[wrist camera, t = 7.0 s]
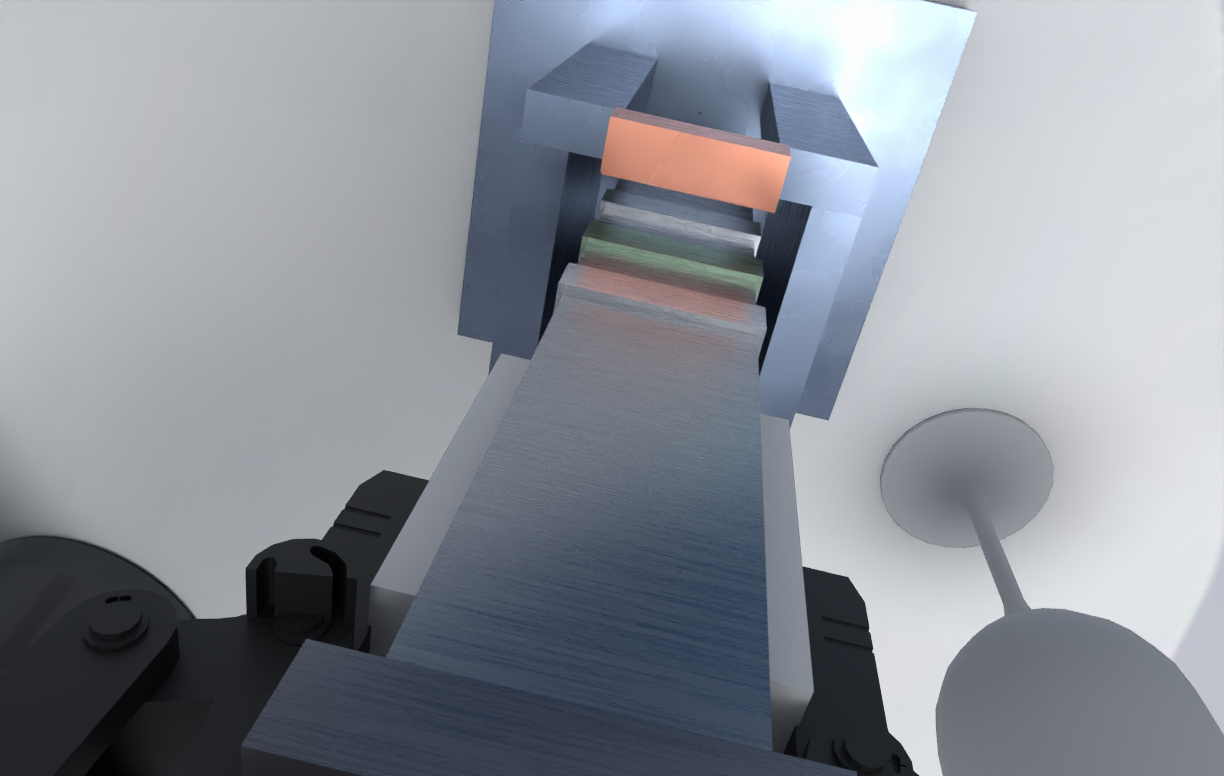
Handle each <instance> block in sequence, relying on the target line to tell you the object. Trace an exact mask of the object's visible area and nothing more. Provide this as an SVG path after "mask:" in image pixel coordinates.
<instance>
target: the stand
mask: <svg viewBox="0 0 1224 776" xmlns="http://www.w3.org/2000/svg"><path fill="white" fill-rule="evenodd" d="M976 15H977V12H974V11H972V10H969V9H966V8H961V7H956V6H952V5H947V4H943V3H938V2H933V1H929V0H495V3H494V12H493V20H492V29H491V38H490V47H489V56H488V65H487V74H486V83H485V92H484V101H483V110H482V119H481V128H480V137H479V146H478V155H477V164H476V173H475V182H474V191H473V200H472V209H471V218H470V227H469V236H468V245H467V254H466V263H465V271H464V280H463V289H462V298H461V307H460V316H459V325H458V334H457V335H462V336H466V337H470V338H475V339H479V340H483V341H488V342H492V343H493V346H492V353H491V361H490V368H489V374H490V372H491V371H492V369H493V367H494V365H495V363H496V362H497V360H498V358H499V356H500V355H501V354H506V355H510V356H514V357H519V358H523V359H527V360H531V359H532V357H533V355H534V353H535V351H536V349H537V347H538V344H539V342H540V340H541V338H542V336H543V334H544V332H545V330H546V328H547V326H548V324H549V322H550V320H551V318H552V316H553V312H554V307H555V301H556V295H557V289H558V283H559V281H560V279H561V277H562V275H563V273H564V271H565V269H566V267H567V265H568V263H574V264H578V259H579V253H580V248H581V242H582V236H583V234H584V232H585V230H586V229H587V227H588V225H589V223H590V221H594V222H597V219H598V214H599V209H600V203H601V199H602V198H603V196H604V194H605V192H606V190H607V188H608V189H613V190H614V189H615V187H616V185H617V183H618V181H619V179H620V178H621V179H626V180H630V181H635V182H639V183H644V184H648V185H652V186H657V187H661V188H666V189H670V190H675V191H679V192H684V193H688V194H692V195H697V196H701V197H706V198H710V199H715V200H719V201H724V202H728V203H732V204H737V205H741V206H746V207H750V208H753V221H754V222H759V223H760V226H761V239H760V242H759V246H758V249H757V253H756V256H755V258H757V259H761V260H763V276H764V277H763V281H762V284H761V288H760V291H759V294H758V298H757V301H756V305H758V306H762V307H765V310H766V327H767V331H766V334H765V337H764V341H763V344H762V347H761V351H760V354H759V357H758V365H759V393H760V413H761V414H765V415H769V416H774V417H778V418H782V419H787V420H789V428H790V427H791V424H792V421H793V418H794V415H795V413H799V414H803V415H808V416H812V417H816V418H821V419H825V420H829V417H830V415H831V412H832V409H833V406H834V404H835V401H836V398H837V395H838V393H839V390H840V387H841V384H842V382H843V379H844V376H845V373H846V371H847V368H848V365H849V363H850V360H851V357H852V354H853V352H854V349H855V346H856V343H857V341H858V338H859V335H860V332H861V330H862V327H863V324H864V321H865V319H866V316H867V313H868V311H869V308H870V305H871V302H872V300H873V297H874V294H875V291H876V289H877V286H878V283H879V280H880V278H881V275H882V272H883V269H884V267H885V264H886V261H887V259H888V256H889V253H890V250H891V248H892V245H893V242H894V239H895V237H896V234H897V231H898V228H899V226H900V223H901V220H902V217H903V215H904V212H905V209H906V207H907V204H908V201H909V198H910V196H911V193H912V190H913V187H914V185H915V182H916V179H917V176H918V174H919V171H920V168H921V165H922V163H923V160H924V157H925V155H926V152H927V149H928V146H929V144H930V141H931V138H932V135H933V133H934V130H935V127H936V124H937V122H938V119H939V116H940V113H941V111H942V108H943V105H944V103H945V100H946V97H947V94H948V92H949V89H950V86H951V83H952V81H953V78H954V75H955V72H956V70H957V67H958V64H959V61H960V59H961V56H962V53H963V51H964V48H965V45H966V42H967V40H968V37H969V34H970V31H971V29H972V26H973V23H974V20H975V18H976ZM488 376H489V375H488Z"/></svg>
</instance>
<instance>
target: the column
mask: <svg viewBox="0 0 1224 776" xmlns="http://www.w3.org/2000/svg"><path fill="white" fill-rule="evenodd" d="M760 239H761V226H760V223H759V222H754V221H753V208H750V207H746V206H741V205H737V204H732V203H728V202H724V201H719V200H715V199H710V198H706V197H701V196H697V195H692V194H688V193H684V192H679V191H675V190H670V189H666V188H661V187H657V186H652V185H648V184H644V183H639V182H635V181H630V180H626V179H621V178H620V179H619V181H618V183H617V185H616V187H615V189H614V190H613V189H608V188H607V190H606V192H605V194H604V196H603V198H602V199H601V203H600V209H599V214H598V219H597V222H594V221H590V223H589V225H588V227H587V229H586V230H585V232H584V234H583V236H582V242H581V248H580V253H579V259H578V264H574V263H568V265H567V267H566V269H565V271H564V273H563V275H562V277H561V279H560V281H559V283H558V289H557V295H556V301H555V307H554V312H553V316H552V318H551V320H550V322H549V324H548V326H547V328H546V330H545V332H544V334H543V336H542V338H541V340H540V342H539V344H538V347H537V349H536V351H535V353H534V355H533V357H532V359H531V361H530V363H529V365H528V367H527V369H526V371H525V373H524V375H523V377H522V379H521V381H520V383H519V385H518V387H517V390H516V392H515V394H514V396H513V398H512V400H511V402H510V404H509V406H508V408H507V410H506V412H505V414H504V416H503V418H502V420H501V422H500V424H499V426H498V428H497V430H496V433H495V435H494V437H493V439H492V441H491V443H490V445H489V447H488V449H487V451H486V453H485V455H484V457H483V459H482V461H481V463H480V465H479V467H478V469H477V471H476V474H475V476H474V478H473V480H472V482H471V484H470V486H469V488H468V490H467V492H466V494H465V496H464V498H463V500H462V502H461V504H460V506H459V508H458V510H457V512H456V514H455V517H454V519H453V521H452V523H451V525H450V527H449V529H448V531H447V533H446V535H445V537H444V539H443V541H442V543H441V545H440V547H439V549H438V551H437V553H436V555H435V558H434V560H433V562H432V564H431V566H430V568H429V570H428V572H427V574H426V576H425V578H424V580H423V582H422V584H421V586H420V588H419V590H418V592H417V594H416V596H415V598H414V601H413V603H412V605H411V607H410V609H409V611H408V613H407V615H406V617H405V619H404V621H403V623H402V625H401V627H400V629H399V631H398V633H397V635H396V637H395V639H394V641H393V644H392V646H391V648H390V650H389V652H388V654H387V656H386V658H385V657H380V656H376V655H372V654H368V653H364V652H360V651H356V650H352V649H347V648H343V647H339V646H335V645H331V644H327V643H323V642H318V641H314V640H310V639H306V640H305V642H304V644H303V645H302V647H301V648H300V650H299V652H298V653H297V655H296V657H295V658H294V660H293V662H292V663H291V665H290V666H289V668H288V670H287V671H286V673H285V675H284V676H283V678H282V679H281V681H280V683H279V684H278V686H277V688H276V689H275V691H274V693H273V694H272V696H271V697H270V699H269V701H268V702H267V704H266V706H265V707H264V709H263V711H262V712H261V714H260V715H259V717H258V719H257V720H256V722H255V724H254V725H253V727H252V728H251V730H250V732H249V733H248V735H247V737H246V738H245V740H244V742H243V743H242V745H241V761H242V776H857V772H856V771H852V770H847V769H843V768H839V767H835V766H831V765H827V764H823V763H818V762H814V761H810V760H806V759H802V758H798V757H794V756H790V755H785V754H781V753H777V752H773V751H772V725H771V698H770V670H769V642H768V615H767V587H766V559H765V531H764V504H763V476H762V448H761V421H760V393H759V365H758V357H759V354H760V351H761V347H762V344H763V341H764V337H765V334H766V331H767V327H766V310H765V307H762V306H758V305H756V301H757V298H758V294H759V291H760V288H761V284H762V281H763V277H764V276H763V260H761V259H757V258H755V256H756V253H757V249H758V246H759V242H760Z"/></svg>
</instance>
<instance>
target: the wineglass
mask: <svg viewBox="0 0 1224 776" xmlns="http://www.w3.org/2000/svg"><path fill="white" fill-rule="evenodd" d="M1052 485H1053V464H1052V460H1051V457H1050V453H1049V450H1048V449H1047V447H1046V446H1045V444H1044V443H1043V441H1042V439H1041V438H1040V436H1039V435H1038V434H1037V433H1036V432H1035V431H1034V430H1033V429H1031V428H1030V427H1029V426H1028V425H1027V424H1026V423H1025V422H1023V421H1021V420H1019V419H1016V418H1014V417H1012V416H1010V415H1008V414H1006V413H1001V412H997V411H992V410H988V409H961V410H956V411H950V412H945V413H942V414H939V415H937V416H934V417H932V418H929V419H927V420H924V421H923V422H921V423H919V424H918V425H916V426H915V427H913V428H912V429H910V430H909V431H907V432H906V433H905V434H904V435H903V436H902V437H901V438H900V439H899V440H898V442H897V443H896V444H895V445H894V446H893V447H892V449H891V451H890V453H889V454H888V456H887V458H886V460H885V462H884V466H883V469H882V473H881V494H882V498H883V500H884V503H885V506H886V509H887V511H888V513H889V514H890V515H891V517H892V518H893V519H894V521H895V522H896V523H897V525H899V526H900V527H901V528H902V529H904V530H905V531H906V532H908V533H909V534H910V535H912V536H914V537H916V538H918V539H920V540H923V541H925V542H927V543H931V544H935V545H940V546H944V547H962V548H966V547H973V546H980V545H981V547H982V550H983V553H984V555H985V558H986V560H987V563H988V566H989V568H990V571H991V573H992V576H993V579H994V581H995V584H996V586H997V589H998V592H999V594H1000V597H1001V599H1002V602H1003V605H1004V613H1005V616H1004V617H1002V618H1000V619H998V620H996V621H994V622H992V623H991V624H989V625H987V626H985V627H984V628H983V629H982V630H981V631H979V632H978V633H977V634H976V635H975V636H973V637H972V638H971V640H970V641H969V642H968V643H967V644H966V645H965V646H964V647H963V648H962V649H961V650H960V651H959V653H958V654H957V655H956V657H955V658H954V660H953V661H952V662H951V664H950V665H949V666H948V669H947V672H946V675H945V677H944V680H943V683H942V687H941V690H940V694H939V698H938V702H937V705H936V735H937V745H938V756H939V760H940V765H941V769H942V774H943V776H1224V735H1223V733H1222V732H1221V730H1220V728H1219V726H1218V725H1217V723H1216V722H1215V720H1214V718H1213V717H1212V715H1211V714H1210V712H1209V710H1208V708H1207V707H1206V705H1205V704H1204V702H1203V701H1202V699H1201V698H1200V696H1199V695H1198V693H1197V691H1196V690H1195V688H1194V687H1193V686H1192V685H1191V683H1190V682H1189V681H1188V679H1187V678H1186V677H1185V676H1184V674H1183V673H1182V672H1181V671H1180V669H1179V668H1178V667H1177V665H1176V664H1175V663H1174V662H1173V661H1171V660H1170V659H1169V658H1168V657H1166V656H1165V655H1164V654H1163V653H1162V652H1160V651H1159V650H1158V649H1157V648H1155V647H1154V646H1153V645H1151V644H1150V643H1148V642H1147V641H1146V640H1144V639H1143V638H1141V637H1140V636H1138V635H1137V634H1135V633H1134V632H1133V631H1131V630H1129V629H1127V628H1125V627H1123V626H1121V625H1119V624H1116V623H1114V622H1112V621H1110V620H1108V619H1103V618H1099V617H1095V616H1091V615H1087V614H1083V613H1078V612H1074V611H1070V610H1065V609H1050V608H1041V609H1033V610H1031V609H1030V607H1029V606H1028V605H1027V603H1026V602H1025V600H1024V599H1023V596H1022V594H1021V591H1020V589H1019V587H1018V584H1017V582H1016V579H1015V577H1014V575H1013V572H1012V570H1011V567H1010V565H1009V563H1008V560H1007V558H1006V555H1005V553H1004V551H1003V548H1002V546H1001V543H1000V541H999V540H1000V539H1003V538H1006V537H1007V536H1009V535H1011V534H1013V533H1014V532H1016V531H1018V530H1020V529H1021V528H1023V527H1024V526H1025V525H1026V524H1027V523H1028V522H1029V521H1031V520H1032V519H1033V518H1034V517H1035V516H1036V515H1037V514H1038V512H1039V511H1040V509H1041V508H1042V507H1043V505H1044V504H1045V502H1046V501H1047V498H1048V495H1049V493H1050V490H1051V487H1052Z"/></svg>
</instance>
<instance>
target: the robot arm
mask: <svg viewBox="0 0 1224 776" xmlns="http://www.w3.org/2000/svg"><path fill="white" fill-rule="evenodd" d="M530 361H531V360H527V359H523V358H519V357H514V356H510V355H506V354H501V355H500V356H499V358H498V360H497V362H496V363H495V365H494V367H493V369H492V371H491V372H490V374H489V376H488V378H487V379H486V381H485V383H484V385H483V387H482V388H481V390H480V392H479V394H478V395H477V397H476V399H475V401H474V402H473V404H472V406H471V408H470V410H469V411H468V413H467V415H466V417H465V418H464V420H463V422H462V424H461V425H460V427H459V429H458V431H457V433H456V434H455V436H454V438H453V440H452V441H451V443H450V445H449V447H448V449H447V450H446V452H445V454H444V456H443V457H442V459H441V461H440V463H439V464H438V466H437V468H436V470H435V472H434V473H433V475H432V477H431V479H430V480H424V479H420V478H416V477H412V476H407V475H403V474H399V473H395V472H390V471H386V470H383V471H382V472H380V473H379V474H377V475H375V476H374V477H372V478H370V479H369V480H367V481H365V482H364V483H362V484H361V485H359V487H358V488H357V490H356V491H355V492H354V494H353V495H352V497H351V498H350V500H349V501H348V503H347V504H346V506H345V509H344V510H342V511H341V513H340V514H339V516H338V517H337V519H336V520H335V522H334V525H333V527H331V528H330V529H329V530H328V532H327V533H326V535H325V536H324V538H323V539H322V540H318V539H292V540H288V541H285V542H281V543H278V544H274V545H272V546H270V547H268V548H267V549H265V550H263V551H262V552H260V553H259V554H257V555H256V556H255V557H254V558H253V560H252V561H251V562H250V564H249V565H248V566H247V567H246V605H247V614H246V615H242V616H238V617H230V618H220V619H193V618H192V617H191V615H190V614H189V613H188V612H187V610H186V609H185V608H184V607H183V606H182V605H181V604H180V602H179V601H178V600H177V599H176V598H175V597H174V596H173V595H172V594H171V593H169V592H168V591H167V590H166V589H165V588H164V587H163V586H161V585H160V584H159V583H158V582H156V581H155V580H154V579H153V578H151V577H150V576H148V575H147V574H145V573H144V572H142V571H141V570H139V569H138V568H136V567H135V566H133V565H131V564H129V563H127V562H126V561H124V560H122V559H120V558H118V557H116V556H114V555H111V554H109V553H107V552H105V551H102V550H99V549H97V548H94V547H91V546H88V545H85V544H81V543H77V542H73V541H68V540H63V539H56V538H42V537H34V538H22V539H16V540H12V541H8V542H5V543H2V544H0V776H242V761H241V745H242V743H243V742H244V740H245V738H246V737H247V735H248V733H249V732H250V730H251V728H252V727H253V725H254V724H255V722H256V720H257V719H258V717H259V715H260V714H261V712H262V711H263V709H264V707H265V706H266V704H267V702H268V701H269V699H270V697H271V696H272V694H273V693H274V691H275V689H276V688H277V686H278V684H279V683H280V681H281V679H282V678H283V676H284V675H285V673H286V671H287V670H288V668H289V666H290V665H291V663H292V662H293V660H294V658H295V657H296V655H297V653H298V652H299V650H300V648H301V647H302V645H303V644H304V642H305V640H306V639H310V640H314V641H318V642H323V643H327V644H331V645H335V646H339V647H343V648H347V649H352V650H356V651H360V652H364V653H368V654H372V655H376V656H380V657H385V658H386V656H387V654H388V652H389V650H390V648H391V646H392V644H393V641H394V639H395V637H396V635H397V633H398V631H399V629H400V627H401V625H402V623H403V621H404V619H405V617H406V615H407V613H408V611H409V609H410V607H411V605H412V603H413V601H414V598H415V596H416V594H417V592H418V590H419V588H420V586H421V584H422V582H423V580H424V578H425V576H426V574H427V572H428V570H429V568H430V566H431V564H432V562H433V560H434V558H435V555H436V553H437V551H438V549H439V547H440V545H441V543H442V541H443V539H444V537H445V535H446V533H447V531H448V529H449V527H450V525H451V523H452V521H453V519H454V517H455V514H456V512H457V510H458V508H459V506H460V504H461V502H462V500H463V498H464V496H465V494H466V492H467V490H468V488H469V486H470V484H471V482H472V480H473V478H474V476H475V474H476V471H477V469H478V467H479V465H480V463H481V461H482V459H483V457H484V455H485V453H486V451H487V449H488V447H489V445H490V443H491V441H492V439H493V437H494V435H495V433H496V430H497V428H498V426H499V424H500V422H501V420H502V418H503V416H504V414H505V412H506V410H507V408H508V406H509V404H510V402H511V400H512V398H513V396H514V394H515V392H516V390H517V387H518V385H519V383H520V381H521V379H522V377H523V375H524V373H525V371H526V369H527V367H528V365H529V363H530ZM760 421H761V448H762V476H763V504H764V531H765V559H766V587H767V615H768V642H769V670H770V698H771V725H772V751H773V752H777V753H781V754H785V755H790V756H794V757H798V758H802V759H806V760H810V761H814V762H818V763H823V764H827V765H831V766H835V767H839V768H843V769H847V770H852V771H856V772H857V776H919V775H918V774H917V773H915V772H914V771H913V766H912V761H911V760H910V758H909V756H908V755H907V753H906V751H905V750H904V748H903V746H902V745H901V743H900V742H899V741H897V740H896V739H895V738H894V737H893V736H892V735H891V734H890V733H889V732H888V728H887V723H886V717H885V712H884V706H883V701H882V695H881V690H880V684H879V678H878V673H877V667H876V662H875V656H874V653H872V650H873V645H872V640H871V634H870V632H869V623H868V617H867V612H866V606H865V602H864V600H863V599H862V597H861V596H860V594H859V593H858V591H857V590H856V588H855V587H854V585H853V584H852V582H851V581H850V579H849V578H848V577H845V576H841V575H836V574H832V573H828V572H824V571H819V570H815V569H811V568H807V567H802V557H801V547H800V536H799V525H798V514H797V503H796V493H795V482H794V471H793V460H792V450H791V439H790V428H789V420H787V419H782V418H778V417H774V416H769V415H765V414H761V413H760Z"/></svg>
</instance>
